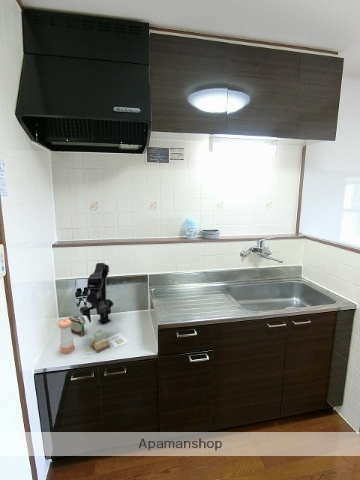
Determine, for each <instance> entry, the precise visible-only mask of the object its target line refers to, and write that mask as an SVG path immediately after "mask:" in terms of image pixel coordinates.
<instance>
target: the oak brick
mask: <svg viewBox="0 0 360 480" xmlns="http://www.w3.org/2000/svg"><path fill="white" fill-rule="evenodd" d="M107 342H108V340H107V337H105V339H104V340H102V341H100V342H97V341H95V340H94V337H93V338H91V344H92V345H93V346H94V347H95V348H96V350H97V349H99V348H102V347H104V346H107Z"/></svg>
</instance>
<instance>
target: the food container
mask: <svg viewBox="0 0 360 480" xmlns="http://www.w3.org/2000/svg"><path fill="white" fill-rule="evenodd" d="M67 319H70V320H71V321H72V325H71V332H72V335H76V336H79V337H83V336H84V335H85V324H86V319H85V317H84V316H83V315H74V316H70V317H68V318H67Z"/></svg>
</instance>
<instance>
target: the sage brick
mask: <svg viewBox="0 0 360 480" xmlns="http://www.w3.org/2000/svg"><path fill="white" fill-rule="evenodd" d="M105 334H106V333H105V332H104V331H103V330H101V329H99V330H97V331H95V332H93V335H92V336H93V338H94V340H95V341H97V342H100V341H102V340H104V339H105V338H106V337H105Z"/></svg>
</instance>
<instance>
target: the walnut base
mask: <svg viewBox="0 0 360 480" xmlns="http://www.w3.org/2000/svg"><path fill="white" fill-rule="evenodd" d="M110 347H111V343H110V342H109V341H107V346H104V347H102V348H99V349H97V350H96V348H95V347H94V346H93V345H92V343H90V348H91V349H93V351H95V353H96V354H99V353H101V352H102V351H105V350H107V349H109V348H110Z"/></svg>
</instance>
